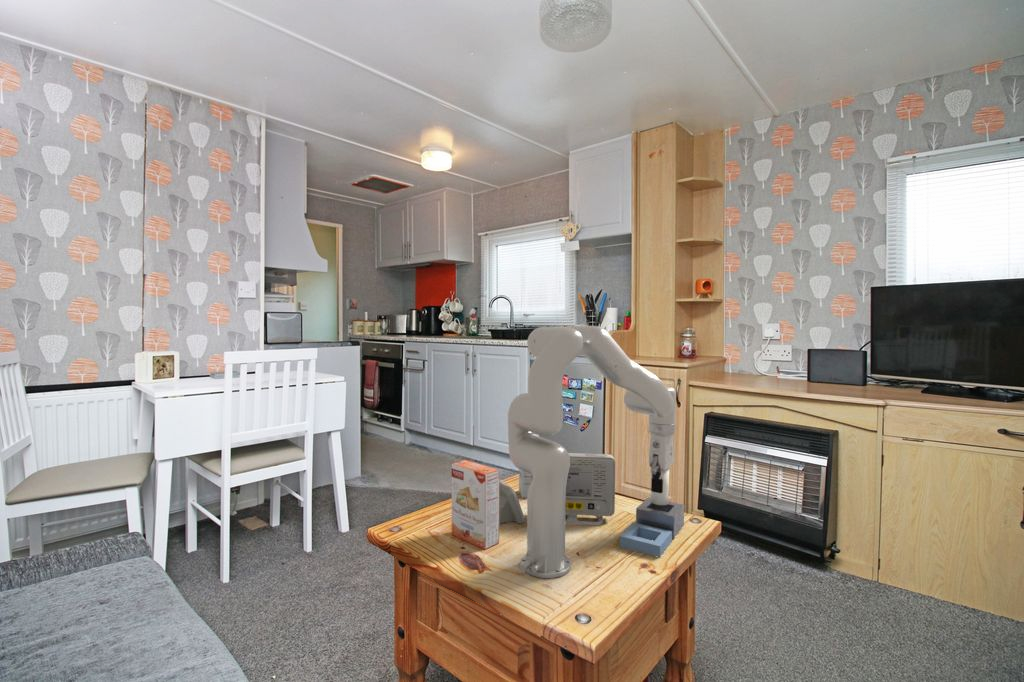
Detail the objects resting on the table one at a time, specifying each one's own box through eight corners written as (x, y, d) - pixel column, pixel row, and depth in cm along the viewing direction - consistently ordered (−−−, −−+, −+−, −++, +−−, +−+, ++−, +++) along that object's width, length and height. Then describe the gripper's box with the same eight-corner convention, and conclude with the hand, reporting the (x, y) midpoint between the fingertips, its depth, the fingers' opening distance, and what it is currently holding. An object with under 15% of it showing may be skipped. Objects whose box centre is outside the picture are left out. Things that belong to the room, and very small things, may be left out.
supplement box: (518, 491, 178) (518, 456, 178) (538, 490, 179) (539, 456, 179) (521, 498, 171) (521, 462, 171) (542, 497, 172) (542, 461, 171)
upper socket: (673, 539, 139) (674, 516, 139) (635, 530, 145) (636, 508, 145) (683, 526, 148) (684, 504, 148) (647, 518, 154) (648, 497, 154)
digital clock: (526, 525, 148) (526, 490, 148) (496, 528, 146) (496, 492, 146) (514, 506, 164) (515, 474, 164) (488, 507, 162) (488, 475, 162)
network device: (612, 514, 157) (613, 452, 156) (615, 526, 148) (616, 460, 148) (532, 511, 160) (532, 450, 159) (530, 522, 151) (531, 457, 150)
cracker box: (450, 535, 141) (450, 463, 140) (466, 529, 145) (466, 458, 145) (484, 551, 132) (484, 473, 131) (500, 543, 136) (500, 468, 135)
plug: (665, 506, 143) (666, 472, 143) (648, 502, 146) (649, 469, 145) (670, 501, 147) (671, 468, 147) (653, 498, 150) (654, 465, 149)
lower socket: (660, 557, 128) (660, 546, 128) (619, 546, 134) (619, 536, 134) (671, 542, 138) (671, 531, 137) (633, 532, 144) (633, 522, 144)
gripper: (666, 435, 137) (664, 500, 137) (682, 425, 151) (680, 484, 151) (639, 431, 141) (637, 494, 141) (657, 422, 155) (655, 480, 155)
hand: (659, 488), depth 146 cm, fingers closed on plug, 4 cm apart
